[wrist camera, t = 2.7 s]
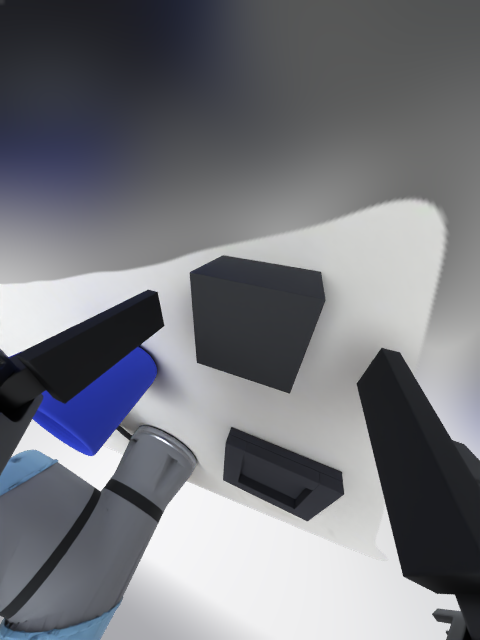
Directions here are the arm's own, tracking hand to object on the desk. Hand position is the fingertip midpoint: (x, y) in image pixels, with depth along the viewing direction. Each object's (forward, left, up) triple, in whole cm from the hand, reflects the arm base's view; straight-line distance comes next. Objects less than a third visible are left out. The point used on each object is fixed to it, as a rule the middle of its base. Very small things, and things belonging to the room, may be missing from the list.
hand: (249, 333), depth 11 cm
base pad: (+6, -28, -4) cm, 29 cm away
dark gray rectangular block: (0, 0, -4) cm, 4 cm away
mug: (-17, -11, -4) cm, 21 cm away
